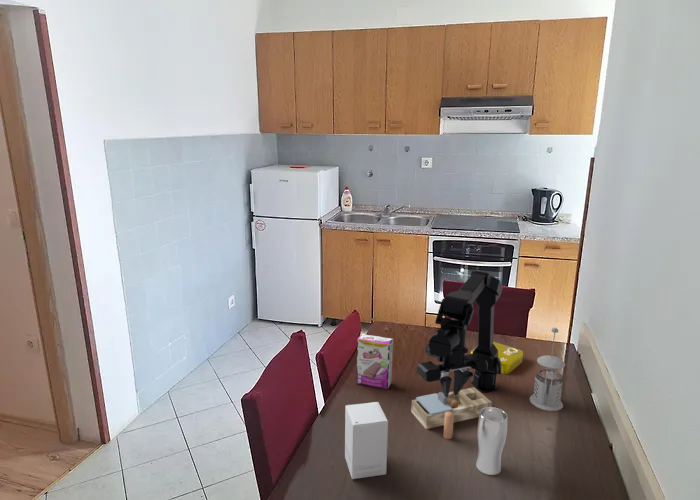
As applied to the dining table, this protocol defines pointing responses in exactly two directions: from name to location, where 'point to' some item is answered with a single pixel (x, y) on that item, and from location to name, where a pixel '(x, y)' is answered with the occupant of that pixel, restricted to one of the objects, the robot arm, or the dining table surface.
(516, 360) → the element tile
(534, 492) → the dining table surface
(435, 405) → the lid
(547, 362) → the french press
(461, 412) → the wooden compartment tray
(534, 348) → the dining table surface
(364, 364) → the candy bar box
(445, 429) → the peg
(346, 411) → the supplement box
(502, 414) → the beer glass
